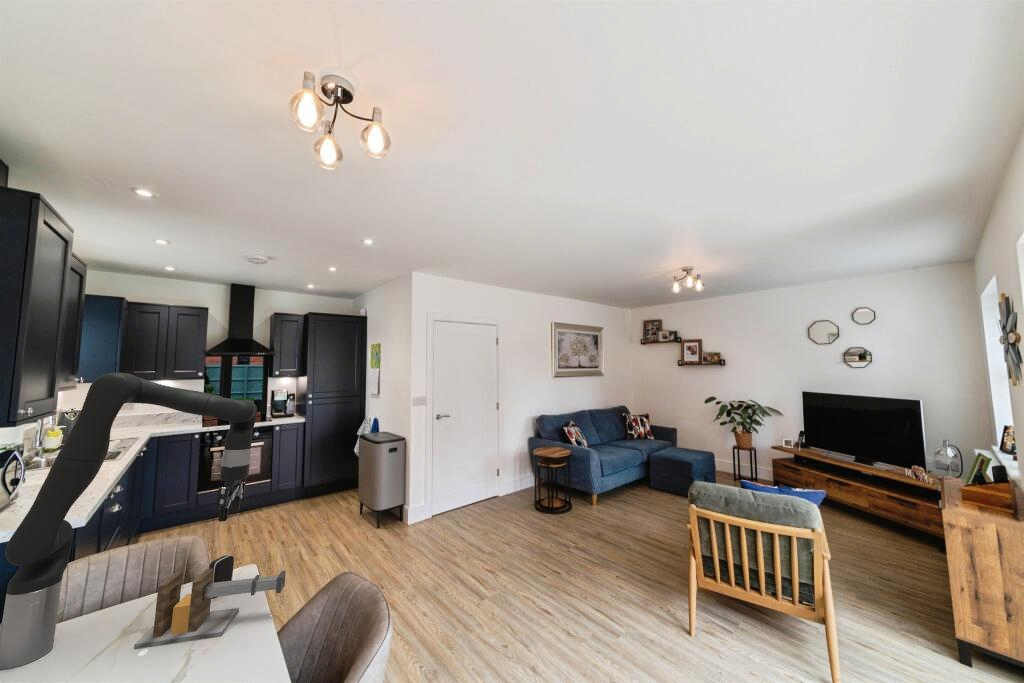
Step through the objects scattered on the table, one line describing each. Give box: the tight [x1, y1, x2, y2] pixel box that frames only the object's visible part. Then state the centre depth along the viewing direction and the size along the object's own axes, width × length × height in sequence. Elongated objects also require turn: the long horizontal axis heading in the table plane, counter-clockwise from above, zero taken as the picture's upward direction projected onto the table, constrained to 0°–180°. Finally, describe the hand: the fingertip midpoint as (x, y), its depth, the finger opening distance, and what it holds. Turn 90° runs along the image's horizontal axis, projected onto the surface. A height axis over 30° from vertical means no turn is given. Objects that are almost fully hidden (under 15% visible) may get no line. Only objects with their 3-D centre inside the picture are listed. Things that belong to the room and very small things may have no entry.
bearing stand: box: [133, 568, 240, 650], centre depth 110 cm, size 20×12×14 cm, turn 106°
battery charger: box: [208, 554, 235, 599], centre depth 129 cm, size 7×4×11 cm, turn 171°
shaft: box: [202, 570, 287, 599], centre depth 114 cm, size 21×4×4 cm, turn 106°
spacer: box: [171, 593, 191, 634], centre depth 110 cm, size 4×7×7 cm, turn 17°
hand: (228, 516), depth 119 cm, fingers open, 8 cm apart
